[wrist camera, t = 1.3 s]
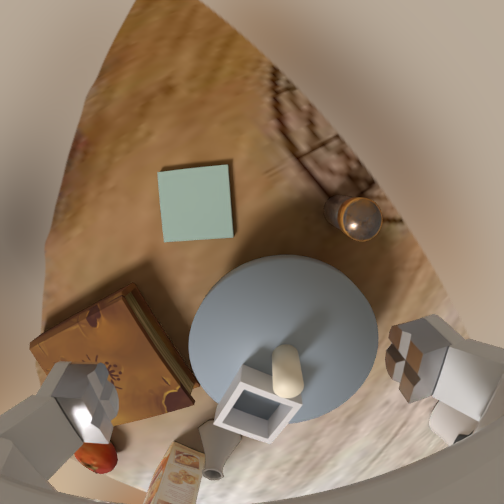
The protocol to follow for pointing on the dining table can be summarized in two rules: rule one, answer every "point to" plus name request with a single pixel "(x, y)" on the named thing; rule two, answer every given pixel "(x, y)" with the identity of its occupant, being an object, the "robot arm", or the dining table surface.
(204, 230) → the mat
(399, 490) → the robot arm
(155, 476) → the coffeecake box
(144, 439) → the dining table surface
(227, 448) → the flask
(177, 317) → the dining table surface
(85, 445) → the tomato
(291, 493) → the dining table surface
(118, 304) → the diary
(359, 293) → the dial
